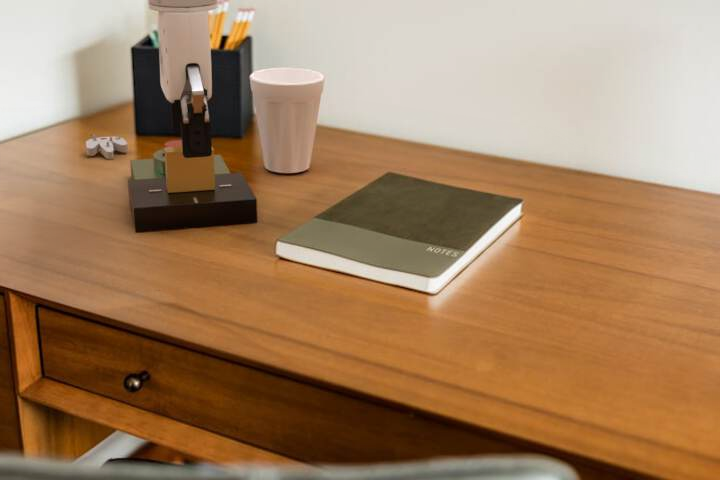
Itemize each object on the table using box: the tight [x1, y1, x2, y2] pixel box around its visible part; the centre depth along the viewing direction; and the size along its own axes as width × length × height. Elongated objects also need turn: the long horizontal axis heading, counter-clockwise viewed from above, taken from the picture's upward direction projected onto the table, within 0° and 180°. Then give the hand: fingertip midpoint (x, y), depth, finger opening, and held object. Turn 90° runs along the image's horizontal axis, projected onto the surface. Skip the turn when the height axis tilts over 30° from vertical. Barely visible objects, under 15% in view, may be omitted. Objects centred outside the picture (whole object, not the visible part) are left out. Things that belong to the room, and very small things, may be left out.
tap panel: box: [127, 172, 258, 233], centre depth 108 cm, size 14×10×3 cm
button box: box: [129, 148, 231, 180], centre depth 117 cm, size 12×9×4 cm
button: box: [164, 139, 182, 148], centre depth 116 cm, size 4×4×2 cm
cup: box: [249, 67, 325, 174], centre depth 122 cm, size 10×10×13 cm
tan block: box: [163, 146, 215, 193], centre depth 106 cm, size 6×2×5 cm, turn 107°
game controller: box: [85, 134, 129, 160], centre depth 130 cm, size 6×12×3 cm, turn 45°
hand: (191, 144), depth 105 cm, fingers open, 9 cm apart
